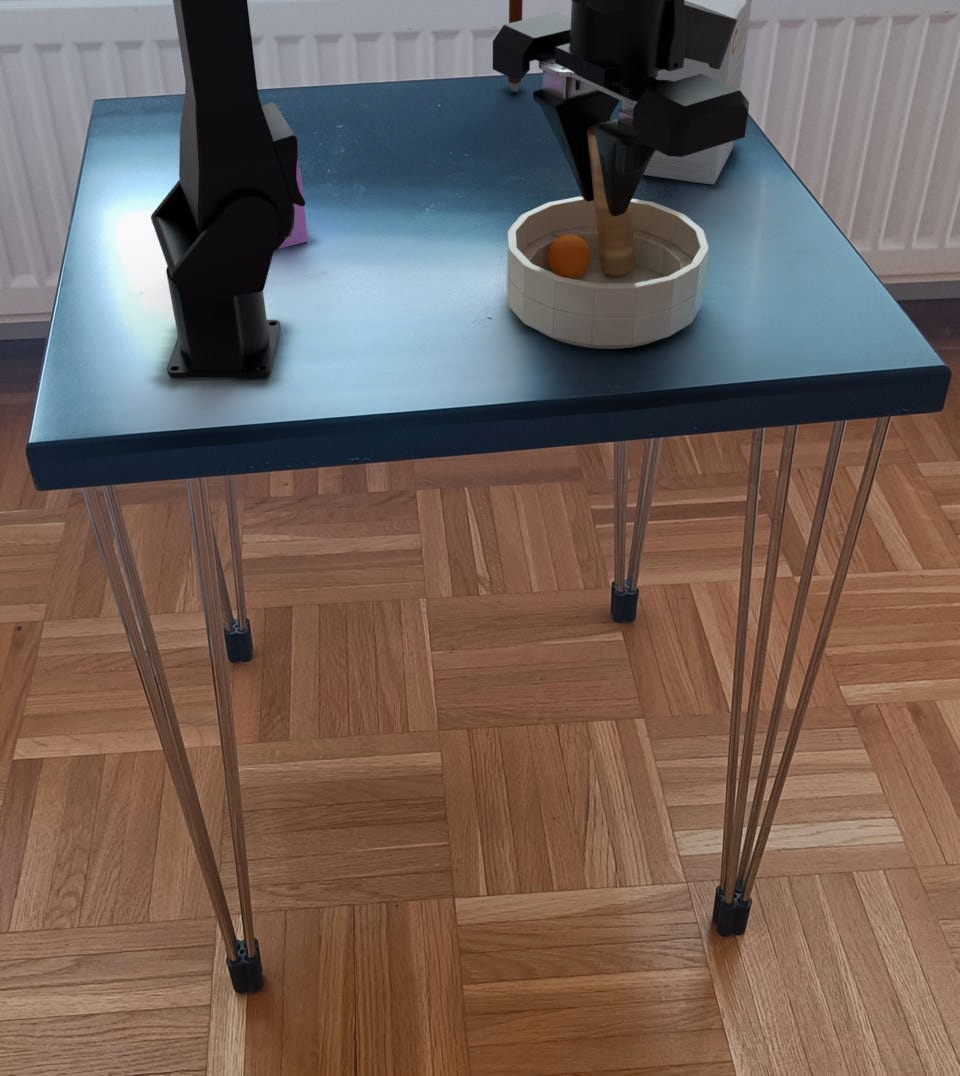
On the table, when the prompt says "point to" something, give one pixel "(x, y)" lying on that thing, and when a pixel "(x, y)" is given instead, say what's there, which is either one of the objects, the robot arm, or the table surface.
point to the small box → (736, 5)
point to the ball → (569, 256)
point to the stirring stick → (610, 221)
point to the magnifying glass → (514, 16)
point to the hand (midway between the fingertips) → (604, 207)
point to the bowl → (607, 276)
